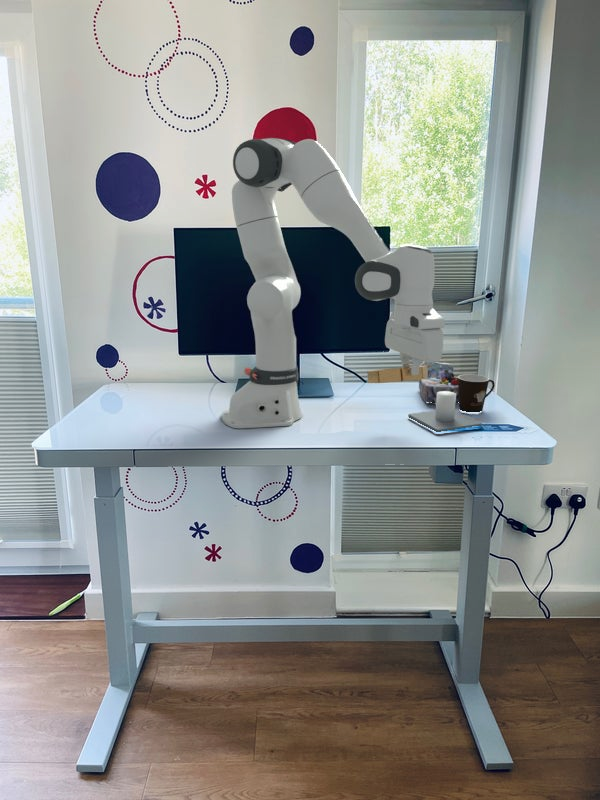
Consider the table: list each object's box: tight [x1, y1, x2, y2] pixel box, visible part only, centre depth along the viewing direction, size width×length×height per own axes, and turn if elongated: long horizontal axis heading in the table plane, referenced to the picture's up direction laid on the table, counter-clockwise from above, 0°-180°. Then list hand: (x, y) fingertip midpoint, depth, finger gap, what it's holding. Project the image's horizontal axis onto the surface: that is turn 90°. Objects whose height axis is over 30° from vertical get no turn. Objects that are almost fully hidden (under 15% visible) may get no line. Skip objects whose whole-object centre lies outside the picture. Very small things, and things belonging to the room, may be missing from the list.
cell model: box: [418, 361, 459, 404], centre depth 180 cm, size 13×11×20 cm
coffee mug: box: [457, 373, 496, 412], centre depth 167 cm, size 12×9×10 cm
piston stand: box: [407, 391, 484, 432], centre depth 157 cm, size 14×14×8 cm
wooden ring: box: [366, 365, 428, 384], centre depth 146 cm, size 14×14×3 cm
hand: (410, 373), depth 140 cm, fingers closed on wooden ring, 2 cm apart
